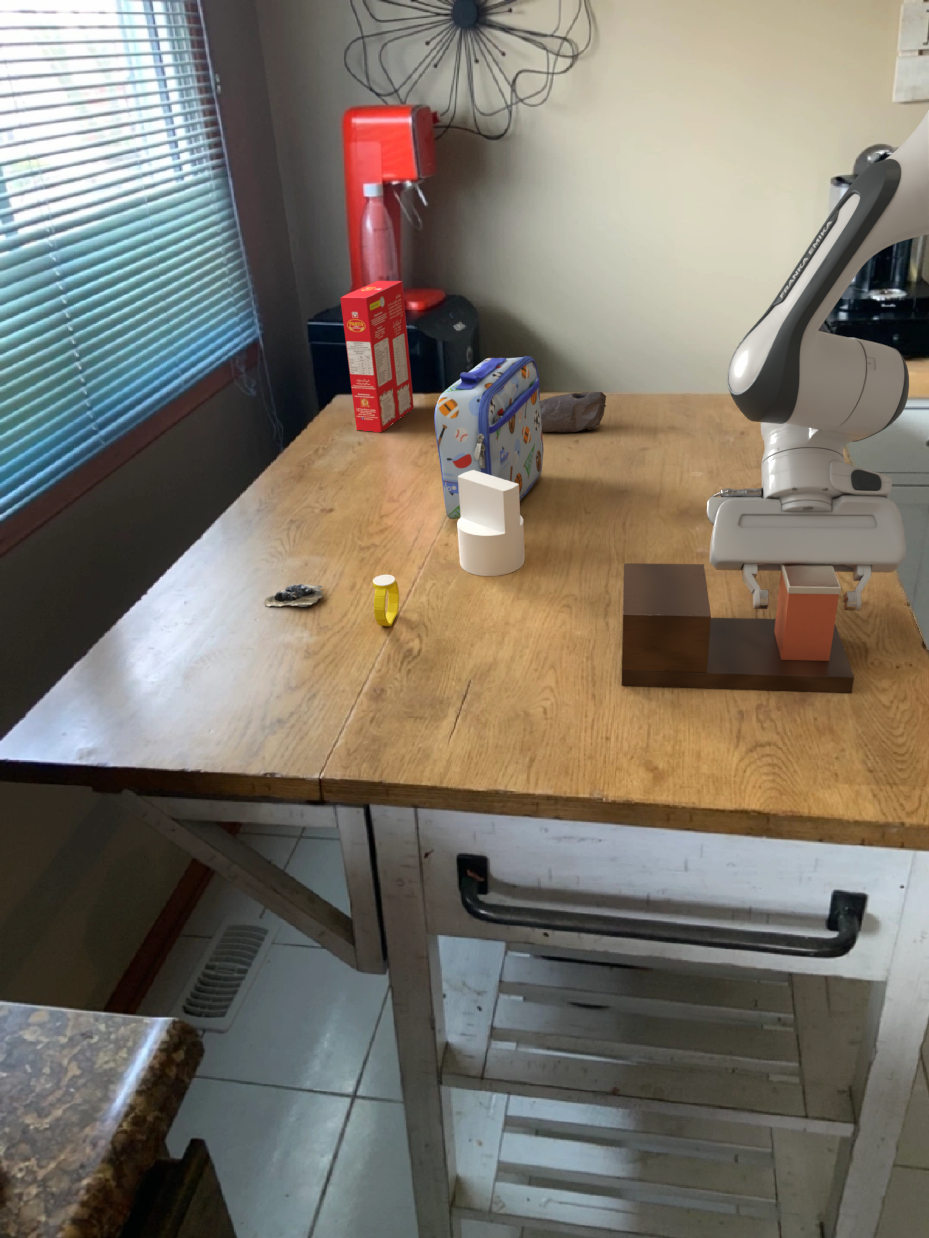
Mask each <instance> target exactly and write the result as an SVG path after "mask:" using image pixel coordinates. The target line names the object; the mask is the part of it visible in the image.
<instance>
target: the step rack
mask: <svg viewBox="0 0 929 1238" xmlns="http://www.w3.org/2000/svg"><path fill="white" fill-rule="evenodd" d="M622 581H623V583H622V584H623V586H622V627H621V628H622V629H621V630H622V632H621V633H622V634H621V635H622V636H621V681H620V682H621V683H620V684H621V686H622V687H653V688H654V687H655V688H680V689H681V688H684V689H685V688H686V689H690V688H691V689H714V690H715V689H716V690H718V689H719V690H747V691H749V690H750V691H752V690H753V691H779V692H780V691H781V692H782V691H783V692H813V693H814V692H815V693H845V694H846V693H847V694H850V693H851V694H852V693H853V688H854V687H853V686H854V681H855V675H854V672H853V669H852V667H851V664H850V661H849V659H848V656H847V654H846V651H845V647H844V645H843V642H842V639H841V636H840V634H839V633H840V632H839V631H838V627H837V625H836V624H835V625H834V632H833V639H832V646H831V653H830V659H829V661H810V660H781V657H780V653H779V649H778V645H777V641H776V637H775V633H774V629H775V620H776V618H755V617H754V618H750V617H748V618H747V617H712V612H711V607H710V606H711V605H710V599H709V592H708V591H709V590H708V585H707V584H708V583H707V577H706V571H705V564H704V563H635V562H634V563H629V562H626V563H625V562H624V563H623V579H622Z"/></svg>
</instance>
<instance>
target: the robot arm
mask: <svg viewBox="0 0 929 1238" xmlns="http://www.w3.org/2000/svg"><path fill="white" fill-rule="evenodd" d="M923 236H929V109H928V110H927V111H926V113H925V115H924V117H923V118H922V119H921V121H920V123H919V124H918V126H917V127H916V128H915V129H914V130H913V131H912V133H911V134H910V135H909V136H908V137H907V138H906V140H905V141H904V142H903V143H901V145H900V146H899V147H897V149H896V150H894V152H892V153H891V154H890V155H889V156H887V157H886V158H885V159H882V160H880V161H879V160H878V161H876V162H873V163H872V164H870V165H868V166H867V167H866V168H864V169H863V170H862V171H861V172H860V173H859V174H858V175H857V177H855V179H854V180H853V182H852V183H851V184H850V186H848V188H847V189H846V191H845V192H844V194H843V195H842V196H841V198H840V199H839V201H838V202H837V203H836V205H835V206H834V208H833V209H832V211H831V212H830V214H829V216H828V217H827V218H826V220H825V221H824V223H823V224H822V226H821V227H820V229H819V230H818V232H817V234H816V235H815V236H814V238H813V239H812V241H811V243H810V244H809V246H808V247H807V249H806V250H805V252H804V253H803V255H802V256H801V258H800V259H799V261H798V262H797V264H796V266H795V267H794V269H793V270H792V272H791V273H790V274H789V277H788V278H787V280H785V283H784V284H783V286H782V287H781V289H780V290H779V292H778V293H777V295H776V296H775V298H774V299H773V301H772V302H771V304H770V305H769V307H768V308H767V309H766V311H765V312H764V313H763V314H762V316H761V317H760V318H759V319H758V320H757V321H756V323H755V324H754V325H753V326H752V327H751V328H750V329H749V331H748V332H746V334H745V335H744V336H743V337H742V339H741V340H740V341H739V344H738V345H737V347H736V348H735V350H734V352H733V354H732V356H731V359H730V362H729V365H728V369H727V376H726V382H727V388H728V391H729V394H730V395H731V398H732V400H733V402H734V403H735V405H736V407H737V409H738V410H739V411H740V412H741V414H742V415H743V416H744V417H745V418H746V419H747V420H748V421H750V422H754V423H760V434H761V438H762V441H763V444H764V451H763V456H762V458H761V464H760V471H761V473H760V474H761V477H760V478H761V479H760V480H761V488H759V487H758V488H757V487H754V488H751V487H750V488H749V487H748V488H738V489H737V488H736V489H735V488H731V487H729V488H722V489H720V491H718V492H715V493H713V494H711V496H710V497H709V498H708V500H707V503H706V518H707V520H708V523H709V524H710V525H711V526H712V531H711V536H710V543H709V554H708V555H709V556H708V561H709V563H710V565H711V566H712V567H713V569H714V570H715V571H716V570H717V571H741V581H742V582H743V583H744V585H745V587H746V588H747V589H748V591H749V592H750V594H751V595H752V609H753V610H767V609H768V608H769V606H770V599H769V596H770V590H769V589H762V588H761V586H760V585H759V583H758V581H757V580H756V577H757V575H758V573H759V572H781V567H780V566H781V564H832V566H833V568H834V571H835V573H852V580H853V582H857V584H856V585H855V587H854V589H853V590H846V591H845V593H844V594H843V595H842V602H843V605H842V607H843V611H846V612H847V611H848V612H850V611H851V612H852V611H853V612H859V611H860V610H861V609H862V592H863V591H864V589H865V588H866V586H867V584H868V582H869V580H870V579H871V577H872V573H883V574H884V573H887V574H889V573H890V574H891V573H894V572H895V571H896V570H898V568H899V567H900V566H901V565H902V564H903V563H904V561H905V560H906V557H907V542H906V534H905V527H904V523H903V522H904V521H903V519H902V514H901V511H900V509H899V507H898V505H897V504H896V503H895V502H894V501H893V500H892V499H890V498H889V497H890V495H891V493H892V490H893V489H892V488H893V481H892V478H891V477H890V476H888V475H887V474H884V473H879V472H877V471H874V470H870V469H866V468H863V467H859V466H856V465H853V464H851V463H847V462H846V461H845V457H844V449H845V446H846V445H847V444H849V443H851V442H852V443H856V442H860V441H863V440H866V439H868V438H870V437H872V436H875V435H877V434H879V433H881V432H882V431H884V430H886V429H887V428H888V427H890V426H891V425H892V424H894V422H895V421H897V419H898V418H899V417H900V416H901V415H902V414H903V412H904V410H905V408H906V406H907V403H908V397H909V393H910V392H909V391H910V375H909V368H908V364H907V362H906V360H905V358H904V356H903V354H902V353H901V352H900V351H899V350H898V349H897V348H896V347H891V346H888V345H885V344H882V343H878V342H874V341H872V340H871V341H870V340H865V339H860V338H857V337H847V336H843V335H840V334H839V335H838V334H834V333H829V332H824V331H821V330H819V329H820V328H821V326H822V325H823V324H824V322H825V321H826V319H827V318H828V316H830V314H831V312H832V311H833V309H834V308H835V306H836V305H837V303H838V302H839V300H840V299H841V298H842V297H843V295H844V293H845V292H846V290H848V288H849V286H850V284H851V283H852V281H853V280H854V279H855V278H856V276H857V275H858V273H859V271H860V270H861V269H862V268H863V267H864V266H865V264H866V263H867V262H868V261H869V260H870V259H871V258H872V257H874V256H875V255H876V254H878V253H879V252H881V251H882V250H884V249H886V248H888V247H891V246H893V245H895V244H898V243H900V242H903V241H906V240H911V239H914V238H918V237H923Z"/></svg>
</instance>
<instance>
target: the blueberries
mask: <svg viewBox="0 0 929 1238" xmlns="http://www.w3.org/2000/svg"><path fill="white" fill-rule="evenodd" d="M322 588H323V585H321V584H320V585H319V584H318V585H317V584H311V583H306V584H302V583H299V584H292V585H290V586H287V587H286V588H284V589H282V590H278V591H277V592H276V593H273V594H272V595H269V596H267V597H266V598H265V599H264V602H263V603H264V605H265V606H267V607H271V606H272V607H282V606H291V607H292V606H293V607H294V606H297V607H301V608H303V607H305V608H307V607H310V606H312V605H313V604H316V603H318V601H319V599H322V597H323V596H324V594H323V590H321V589H322Z"/></svg>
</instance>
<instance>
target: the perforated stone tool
mask: <svg viewBox="0 0 929 1238" xmlns="http://www.w3.org/2000/svg"><path fill="white" fill-rule="evenodd" d="M606 401H607V396H606V394H604V392H602V391H591V392H590V391H589V392H587V391H583V392H582V391H581V392H572V393H566V394H560V395H555V396H551V397H547V398H544V399H540V412H541V425H542V433H551V432H555V433H577V432H580V431H583V430H587V431H591V430H596V429H597V427H598V426H599V425H600V424H601V421H602V419H603V417H604V414H605V408H606V407H607V405H606Z"/></svg>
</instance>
